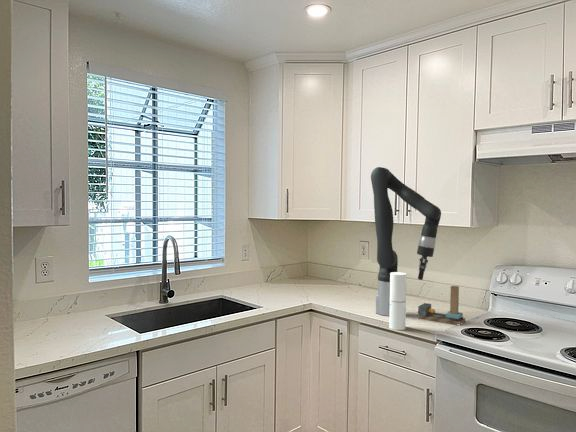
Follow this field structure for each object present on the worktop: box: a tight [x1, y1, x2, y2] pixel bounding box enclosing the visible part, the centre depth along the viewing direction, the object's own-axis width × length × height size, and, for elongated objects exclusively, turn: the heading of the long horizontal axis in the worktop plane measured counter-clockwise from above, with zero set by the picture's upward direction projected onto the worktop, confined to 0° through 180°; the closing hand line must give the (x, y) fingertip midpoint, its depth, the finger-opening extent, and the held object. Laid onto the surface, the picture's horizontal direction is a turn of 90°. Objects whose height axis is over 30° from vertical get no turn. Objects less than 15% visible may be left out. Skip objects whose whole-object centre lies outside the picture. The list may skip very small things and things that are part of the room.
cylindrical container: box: [388, 271, 407, 331], centre depth 195 cm, size 7×7×25 cm
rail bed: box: [417, 302, 466, 326], centre depth 209 cm, size 20×9×6 cm, turn 53°
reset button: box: [427, 308, 436, 314], centre depth 212 cm, size 3×2×2 cm
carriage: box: [445, 285, 464, 319], centre depth 205 cm, size 6×7×14 cm
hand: (420, 278), depth 208 cm, fingers open, 8 cm apart
